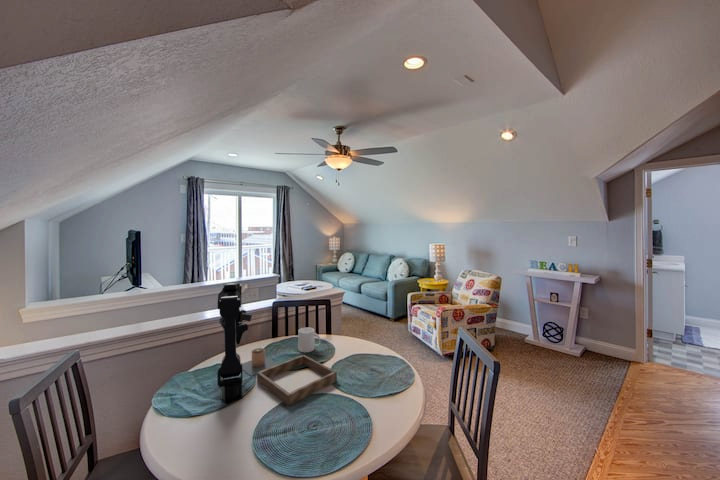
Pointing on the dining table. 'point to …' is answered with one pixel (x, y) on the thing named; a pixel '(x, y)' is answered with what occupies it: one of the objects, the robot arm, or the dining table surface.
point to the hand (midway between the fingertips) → (233, 341)
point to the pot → (258, 358)
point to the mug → (307, 339)
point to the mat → (253, 371)
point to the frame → (299, 393)
